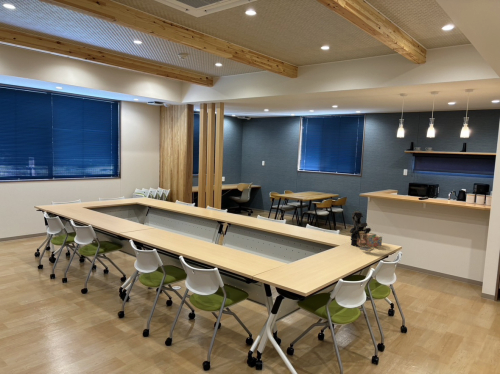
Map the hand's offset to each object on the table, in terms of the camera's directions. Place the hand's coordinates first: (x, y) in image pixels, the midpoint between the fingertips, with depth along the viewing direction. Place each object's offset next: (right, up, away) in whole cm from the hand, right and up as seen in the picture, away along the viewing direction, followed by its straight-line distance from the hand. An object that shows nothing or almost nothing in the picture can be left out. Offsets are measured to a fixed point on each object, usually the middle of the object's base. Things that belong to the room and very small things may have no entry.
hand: (363, 238), depth 320 cm
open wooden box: (-1, -6, +2) cm, 7 cm away
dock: (+7, -12, +11) cm, 18 cm away
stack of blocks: (+18, -11, +29) cm, 36 cm away
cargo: (-1, -5, +2) cm, 6 cm away
